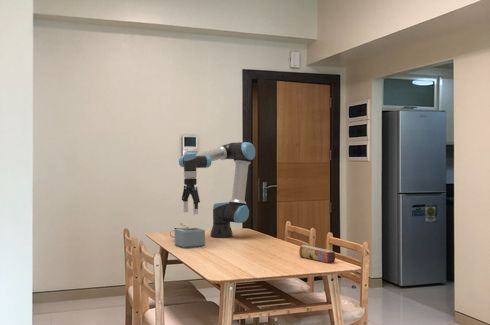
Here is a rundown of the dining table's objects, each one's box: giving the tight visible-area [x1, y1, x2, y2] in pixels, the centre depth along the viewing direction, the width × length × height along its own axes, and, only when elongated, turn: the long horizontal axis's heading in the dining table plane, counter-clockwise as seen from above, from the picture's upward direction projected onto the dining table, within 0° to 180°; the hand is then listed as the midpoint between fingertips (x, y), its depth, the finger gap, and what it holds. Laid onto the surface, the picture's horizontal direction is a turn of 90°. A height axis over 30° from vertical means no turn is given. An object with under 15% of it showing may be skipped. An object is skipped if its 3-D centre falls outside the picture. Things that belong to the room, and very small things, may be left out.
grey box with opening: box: [174, 227, 206, 249], centre depth 310 cm, size 14×12×10 cm
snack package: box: [298, 244, 336, 264], centre depth 270 cm, size 21×7×7 cm, turn 38°
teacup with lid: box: [169, 222, 189, 239], centre depth 328 cm, size 12×9×12 cm
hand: (190, 213), depth 311 cm, fingers open, 13 cm apart
